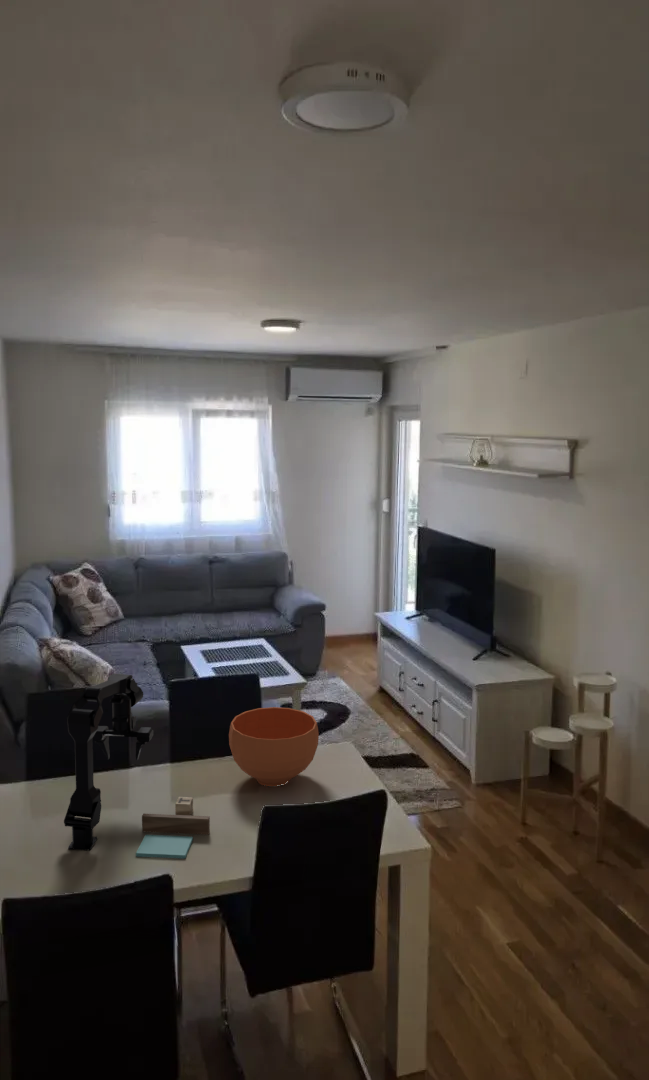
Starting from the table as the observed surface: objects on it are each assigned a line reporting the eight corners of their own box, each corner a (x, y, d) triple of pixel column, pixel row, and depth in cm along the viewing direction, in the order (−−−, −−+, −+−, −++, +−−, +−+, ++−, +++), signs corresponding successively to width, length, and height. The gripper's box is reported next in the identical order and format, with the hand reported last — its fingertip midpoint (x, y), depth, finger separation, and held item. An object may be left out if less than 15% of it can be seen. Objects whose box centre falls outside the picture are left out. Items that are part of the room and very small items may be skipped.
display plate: (185, 858, 220) (185, 855, 220) (136, 856, 221) (135, 853, 221) (192, 839, 230) (192, 836, 230) (145, 837, 231) (145, 834, 231)
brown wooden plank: (208, 834, 233) (208, 819, 232) (142, 831, 234) (141, 816, 233) (209, 831, 235) (209, 816, 234) (143, 829, 236) (143, 813, 235)
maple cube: (189, 817, 243) (189, 804, 242) (175, 817, 243) (175, 803, 242) (193, 810, 247) (192, 797, 247) (178, 810, 247) (178, 796, 247)
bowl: (333, 773, 275) (334, 717, 272) (286, 808, 249) (286, 747, 246) (262, 754, 290) (263, 700, 287) (211, 785, 264) (211, 727, 261)
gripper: (157, 704, 256) (157, 749, 259) (100, 702, 257) (101, 748, 259) (148, 717, 245) (149, 764, 248) (89, 715, 246) (90, 762, 248)
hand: (122, 759), depth 251 cm, fingers open, 9 cm apart
